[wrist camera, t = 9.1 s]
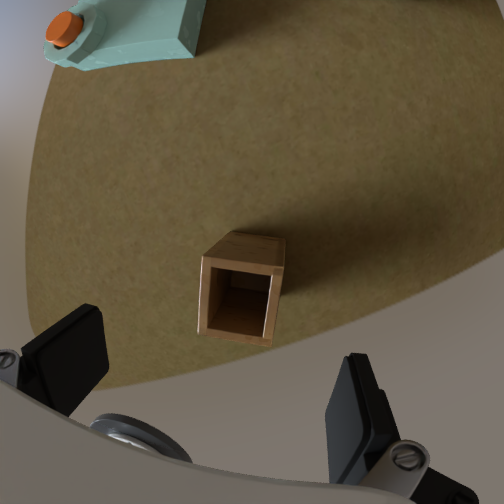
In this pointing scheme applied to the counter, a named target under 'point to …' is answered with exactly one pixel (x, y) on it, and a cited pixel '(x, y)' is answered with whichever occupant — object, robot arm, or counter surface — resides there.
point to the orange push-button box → (130, 32)
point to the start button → (64, 29)
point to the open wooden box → (241, 288)
